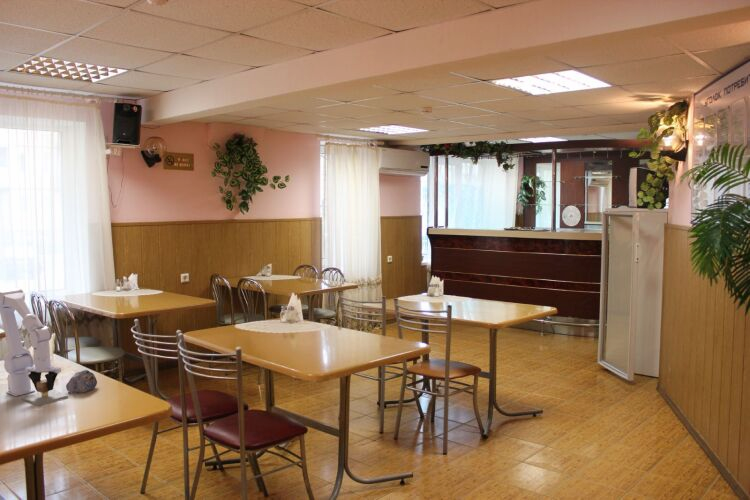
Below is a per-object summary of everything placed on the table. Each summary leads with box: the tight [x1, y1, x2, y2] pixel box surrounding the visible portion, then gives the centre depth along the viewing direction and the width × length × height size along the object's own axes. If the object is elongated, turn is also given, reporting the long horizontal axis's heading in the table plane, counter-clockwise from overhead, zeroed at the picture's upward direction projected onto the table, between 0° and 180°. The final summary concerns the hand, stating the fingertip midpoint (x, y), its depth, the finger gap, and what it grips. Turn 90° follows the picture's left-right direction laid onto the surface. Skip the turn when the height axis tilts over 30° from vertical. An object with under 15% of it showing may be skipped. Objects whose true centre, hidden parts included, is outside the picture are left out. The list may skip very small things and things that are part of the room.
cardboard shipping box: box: [36, 378, 48, 393], centre depth 255 cm, size 4×4×4 cm
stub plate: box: [21, 389, 69, 407], centre depth 256 cm, size 14×12×3 cm
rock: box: [65, 369, 98, 394], centre depth 266 cm, size 11×10×10 cm
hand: (44, 389), depth 255 cm, fingers closed on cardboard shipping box, 5 cm apart
